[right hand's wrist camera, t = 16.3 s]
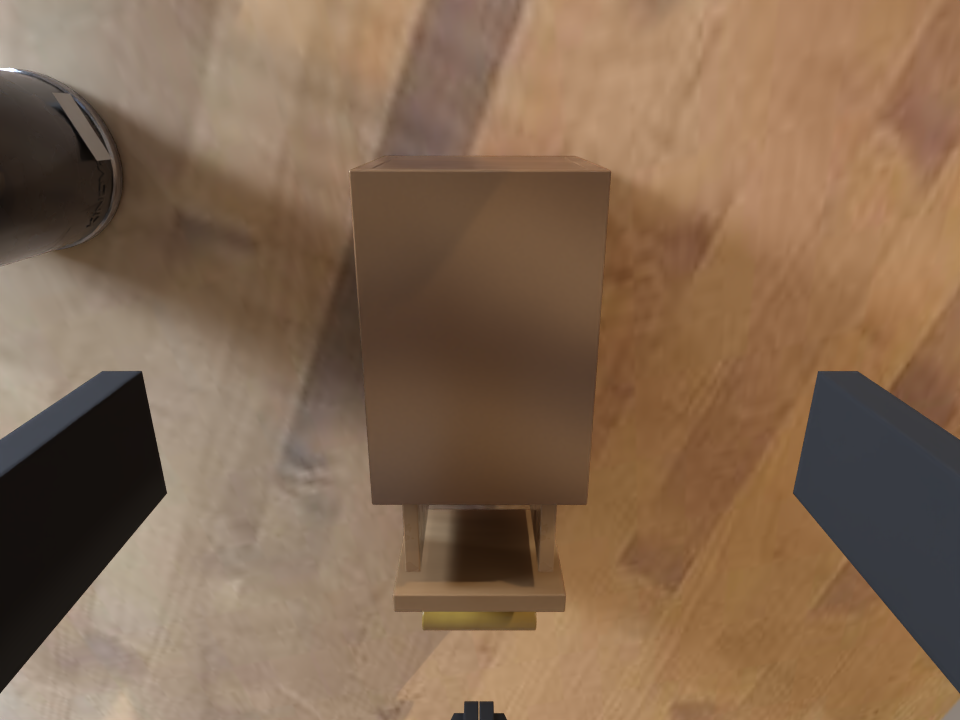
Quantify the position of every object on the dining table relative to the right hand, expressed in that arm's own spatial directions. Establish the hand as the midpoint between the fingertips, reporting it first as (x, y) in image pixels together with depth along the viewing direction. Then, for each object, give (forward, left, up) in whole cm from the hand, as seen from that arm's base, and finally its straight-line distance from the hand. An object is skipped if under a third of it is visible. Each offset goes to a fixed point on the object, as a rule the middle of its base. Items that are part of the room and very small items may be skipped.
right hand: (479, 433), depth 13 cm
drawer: (+9, -12, -25) cm, 29 cm away
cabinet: (+3, -3, -26) cm, 26 cm away
